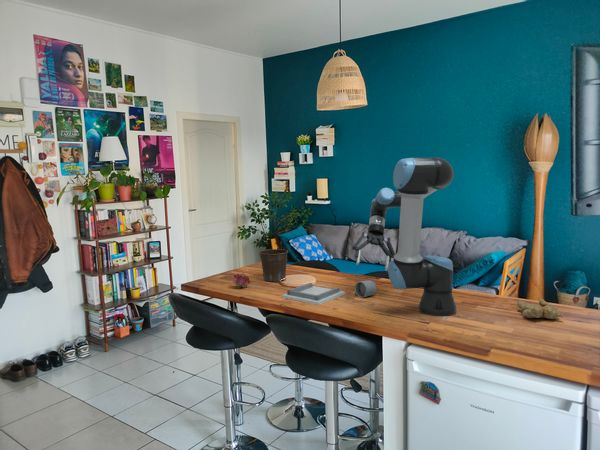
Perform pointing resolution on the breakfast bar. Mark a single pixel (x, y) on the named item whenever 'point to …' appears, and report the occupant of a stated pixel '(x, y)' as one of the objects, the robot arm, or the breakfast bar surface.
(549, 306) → the ginger root
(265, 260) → the plant pot
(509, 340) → the breakfast bar surface
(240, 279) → the flower
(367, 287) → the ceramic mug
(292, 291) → the tray
